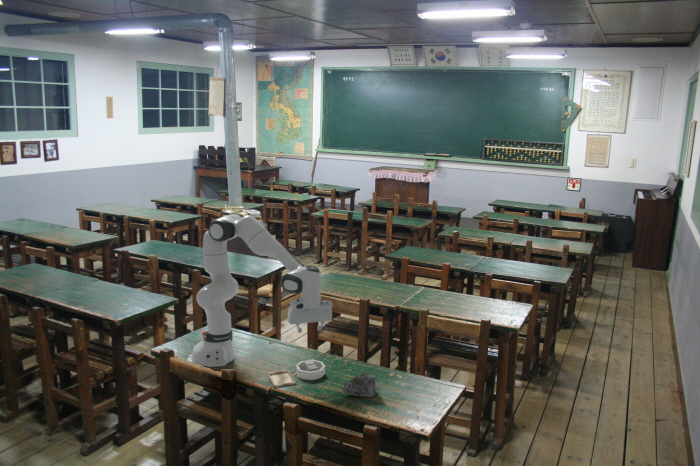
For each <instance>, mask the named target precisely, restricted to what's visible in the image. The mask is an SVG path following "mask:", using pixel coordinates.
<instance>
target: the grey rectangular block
mask: <svg viewBox="0 0 700 466" xmlns="http://www.w3.org/2000/svg"><path fill="white" fill-rule="evenodd" d="M307 371H308V372H311V371H318V367H317V366H316V365H315V364H313V365H307Z"/></svg>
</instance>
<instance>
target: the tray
mask: <svg viewBox="0 0 700 466" xmlns="http://www.w3.org/2000/svg"><path fill="white" fill-rule="evenodd" d="M266 375H267V378H268V380H269V381H270V383H271V385H272V388H282V387H287V386H293V385H297V381H296V379H295V378H294V376H293V375H292V372H291V371H290V370H289V369H283V370H277V371H276V370H275V371H270V372H266Z"/></svg>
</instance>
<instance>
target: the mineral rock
mask: <svg viewBox="0 0 700 466" xmlns="http://www.w3.org/2000/svg"><path fill="white" fill-rule="evenodd" d="M343 386H344V387H343V388H342V392H343V393H344V394H346V395H348V396H354V397H368V398H369V397H371V398H373V397H375V396H376V392H377V391H376V377H375V374H368V373H367V372H362V373H359V374H358V375H357V376H355V377H352V378H351V379H350V380H349V381H347V382H344V383H343Z"/></svg>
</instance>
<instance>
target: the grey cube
mask: <svg viewBox="0 0 700 466" xmlns="http://www.w3.org/2000/svg"><path fill="white" fill-rule="evenodd" d="M312 360H313V359H308V360H307V361H306V360H303V361H304V371H307V365H313V364H315V363H314V362H313V361H312Z"/></svg>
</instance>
